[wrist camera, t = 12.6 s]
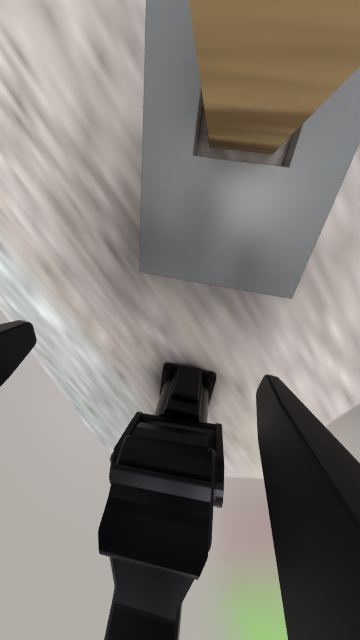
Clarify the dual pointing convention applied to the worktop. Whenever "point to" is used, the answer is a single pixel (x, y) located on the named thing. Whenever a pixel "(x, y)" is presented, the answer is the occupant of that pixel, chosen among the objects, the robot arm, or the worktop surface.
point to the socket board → (230, 177)
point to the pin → (270, 65)
